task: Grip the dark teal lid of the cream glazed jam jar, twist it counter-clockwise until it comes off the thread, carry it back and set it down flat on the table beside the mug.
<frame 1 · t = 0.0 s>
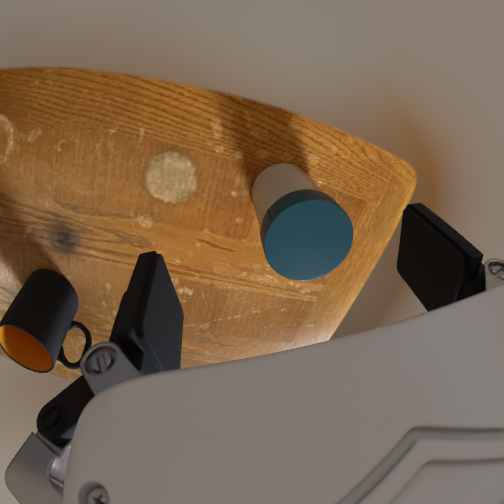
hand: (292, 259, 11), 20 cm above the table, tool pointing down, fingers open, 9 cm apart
jar lid: (309, 240, 22), point 10 cm above the table, screwed on, not yet turned
mug: (63, 300, 35), on the table
jar: (282, 193, 31), on the table
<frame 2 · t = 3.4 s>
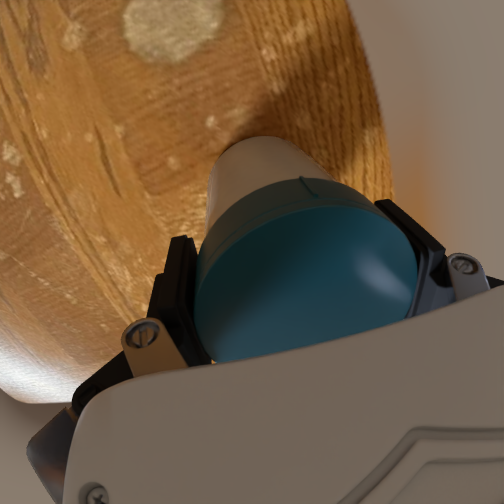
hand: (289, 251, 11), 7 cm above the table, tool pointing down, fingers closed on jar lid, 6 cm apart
jar lid: (311, 308, 9), point 10 cm above the table, screwed on, not yet turned, touching gripper
jar: (263, 190, 17), on the table
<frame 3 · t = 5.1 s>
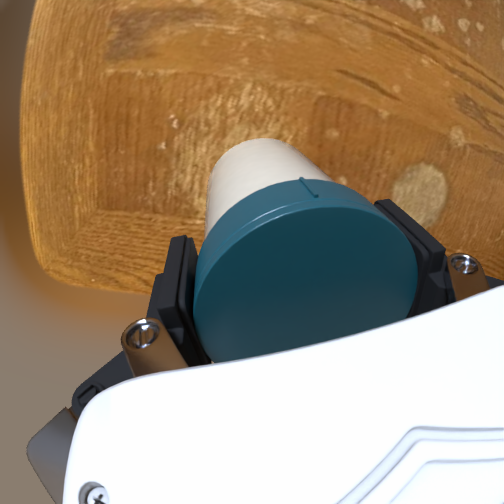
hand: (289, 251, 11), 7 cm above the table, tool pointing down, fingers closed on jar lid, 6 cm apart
jar lid: (311, 309, 9), point 10 cm above the table, off its thread, touching gripper
jar: (262, 192, 17), on the table
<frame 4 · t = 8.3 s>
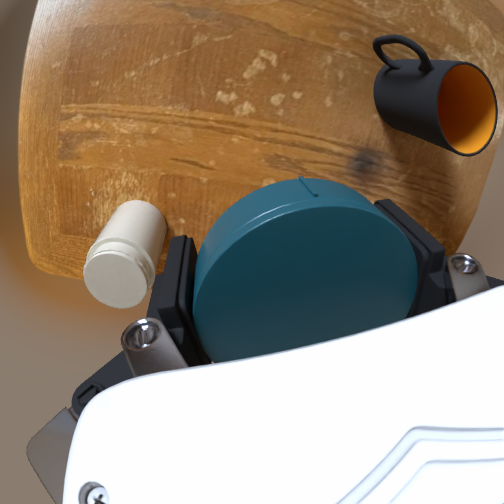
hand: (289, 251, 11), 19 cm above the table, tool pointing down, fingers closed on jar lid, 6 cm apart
jar lid: (311, 309, 9), point 23 cm above the table, off its thread, touching gripper
mug: (394, 82, 25), on the table
jar: (138, 227, 31), on the table
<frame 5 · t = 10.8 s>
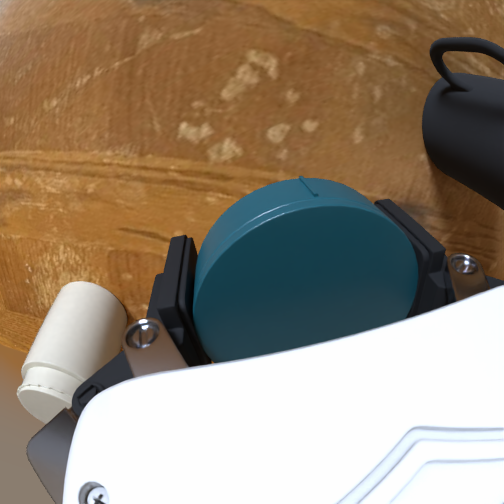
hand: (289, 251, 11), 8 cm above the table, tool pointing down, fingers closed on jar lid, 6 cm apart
jar lid: (312, 308, 9), point 11 cm above the table, off its thread, touching gripper
mug: (448, 106, 16), on the table
jar: (91, 312, 22), on the table
when the fingers open (1 cm above the table, at t = 13.1 s): jar lid drops 3 cm, point 2 cm above the table.
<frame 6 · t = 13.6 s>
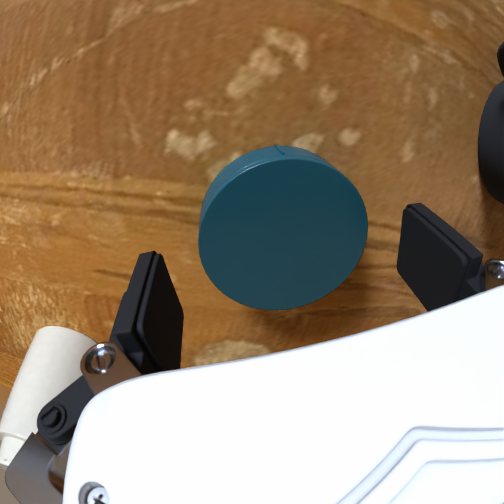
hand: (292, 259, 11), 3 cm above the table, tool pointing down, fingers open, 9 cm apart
jar lid: (285, 239, 12), point 2 cm above the table, off its thread
jar: (73, 357, 17), on the table
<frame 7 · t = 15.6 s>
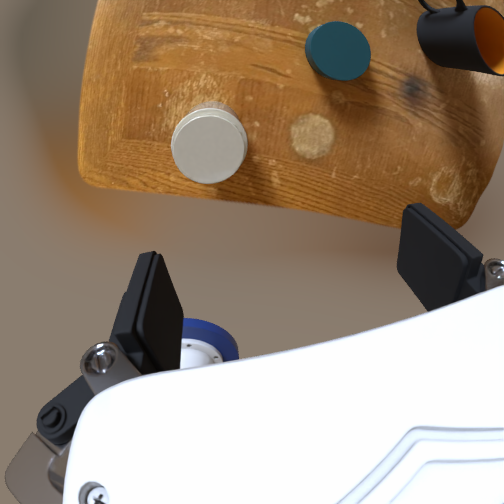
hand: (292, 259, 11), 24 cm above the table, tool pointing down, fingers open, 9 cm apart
jar lid: (340, 50, 25), point 2 cm above the table, off its thread
mug: (431, 27, 24), on the table
jar: (211, 129, 30), on the table
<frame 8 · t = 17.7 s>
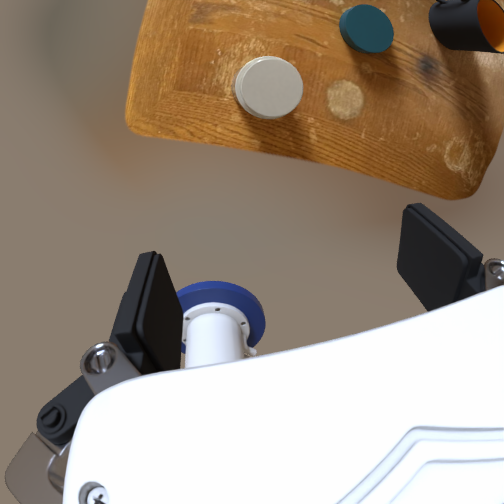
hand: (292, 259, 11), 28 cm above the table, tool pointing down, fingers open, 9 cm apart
jar lid: (369, 28, 27), point 2 cm above the table, off its thread
mug: (440, 16, 26), on the table
jar: (258, 86, 32), on the table
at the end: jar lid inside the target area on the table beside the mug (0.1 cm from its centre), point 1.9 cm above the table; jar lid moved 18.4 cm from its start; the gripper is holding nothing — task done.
